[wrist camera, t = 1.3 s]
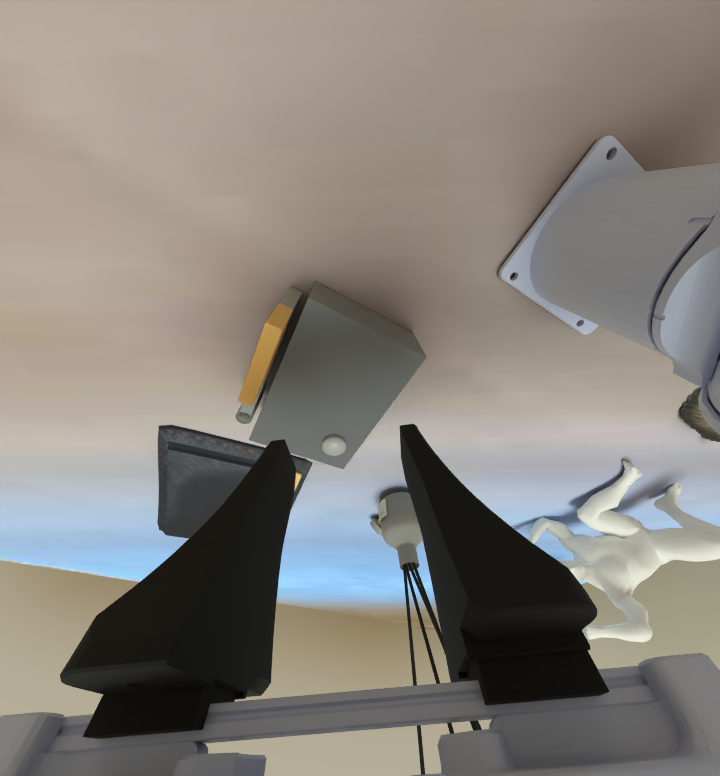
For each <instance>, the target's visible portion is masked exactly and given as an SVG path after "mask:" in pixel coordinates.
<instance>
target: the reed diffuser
mask: <svg viewBox="0 0 720 776" xmlns="http://www.w3.org/2000/svg"><path fill="white" fill-rule="evenodd" d="M378 510H379V519H377V518H374V519H373V520H372V521H371V522H370V524H371V526H372V528H373V529H374V530H375V531H376V532H377V533H378V534H379V535H381V536H383V538H384V540H385V542H386V543H387V544H388V545H390V546H392V547H393V548H395V549H397V551H398V556H399V562H400V568H401V569H402V570H403V572H404V583H405V595H406V606H407V617H408V629H409V640H410V651H411V663H412V674H413V686H417V682H416V672H415V661H414V650H413V640H412V629H411V618H410V607H409V596H408V586H407V577H408V581H409V584H410V588H411V592H412V595H413V599H414V603H415V607H416V610H417V614H418V618H419V621H420V625H421V629H422V632H423V636H424V639H425V643H426V647H427V651H428V654H429V658H430V662H431V665H432V669H433V673H434V676H435V680H436V684H440V682H439V678H438V674H437V670H436V667H435V664H434V660H433V656H432V653H431V649H430V645H429V642H428V638H427V635H426V631H425V627H424V624H423V620H422V617H421V613H420V610H419V606H418V603H417V599H416V595H415V592H414V588H413V585H412V581H411V578H410V574H409V571H411V573H412V575H413V578H414V580H415V583H416V585H417V587H418V590H419V592H420V594H421V597H422V599H423V601H424V604H425V606H426V608H427V611H428V613H429V616H430V618H431V620H432V623H433V625H434V627H435V630H436V632H437V634H438V637H439V639H440V642H441V644H442V647H443V649H444V652H445V648H444V643H443V638H442V634H441V631H440V629H439V626H438V623H437V621H436V618H435V615H434V613H433V610H432V607H431V605H430V602H429V599H428V597H427V594H426V591H425V589H424V586H423V584H422V581H421V578H420V576H419V573H418V570H417V568H418V567H419V562H418V557H417V552H416V547H417V545H418V544H419V543H420V542H421V541H422V540H423V538H422V534H421V530H420V526H419V523H418V520H417V516H416V513H415V510H414V506H413V503H412V500H411V496H410V493H406V492H396V493H392V494H389V495H387V496H385V497H384V498H383V499H382V500H381V502H380V503H379V506H378ZM413 570H415V573H416V576H417V578H418V580H417V578H416V576H415V573H414V571H413ZM406 573H407V575H406ZM418 581H419V582H418ZM419 584H420V585H419ZM445 655H446V654H445ZM470 723H471V725H472V728H473V731H476V730H482V729H481V727H480V724H479V722H478V720H475V721H470ZM447 724H448V728H449V731H450V734H454V731H453V727H452V724H451V723H447ZM417 731H418V743H419V753H420V766H421V775H425V768H424V758H423V747H422V736H421V725H417Z"/></svg>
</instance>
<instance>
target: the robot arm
mask: <svg viewBox="0 0 720 776" xmlns="http://www.w3.org/2000/svg"><path fill="white" fill-rule="evenodd" d="M609 150H611V155H610V157H609V158H608V159H607V158H606V156H607V153H608V151H609ZM512 273H515V276H514V277H513V278H512V279H510V276H511V274H512ZM498 275H499V278H500V279H501V280H503V281H504V282H506V283H507V284H509V285H510V286H512V287H513V288H515V289H516V290H518V291H519V292H521V293H522V294H523V295H525V296H526V297H528V298H529V299H531V300H532V301H534V302H535V303H537V304H538V305H540V306H541V307H542V308H544V309H545V310H547V311H548V312H550V313H551V314H553V315H554V316H556V317H557V318H559V319H560V320H561V321H563V322H564V323H566V324H567V325H569V326H570V327H572V328H573V329H575V330H576V331H578V332H579V333H581V334H583V335H588V334H590V333H591V332H593V331H594V330H595V329H596V328H597V327H598V326H599V325H600V326H602V327H604V328H606V329H608V330H610V331H613V332H615V333H617V334H619V335H621V336H624V337H626V338H628V339H630V340H632V341H634V342H637V343H639V344H641V345H643V346H645V347H648V348H650V349H652V350H654V351H656V352H658V353H661V354H663V355H665V356H667V357H669V358H670V359H671V360H672V361H673V364H674V369H673V373H674V374H676V375H678V376H680V377H682V378H684V379H686V380H688V381H690V382H692V383H694V384H696V385H698V386H700V387H702V389H701V391H700V395H699V398H698V402H699V409H700V411H701V414H702V416H703V418H704V419H705V420H706V422H707V423H708V424H709V425H710V427H711V428H713V429H714V430H715V431H716V432H717V433H718V434H719V435H720V162H718V163H710V164H702V165H694V166H686V167H678V168H671V169H663V170H655V171H647V172H646V171H645V170H644V169H643V168H642V167H641V166H640V165H639V164H638V162H637V161H636V160H635V159H634V158H633V157H632V156H631V155H630V154H629V153H628V151H627V150H626V149H625V148H624V147H623V146H622V145H621V144H620V143H619V142H618V140H617V139H616V138H615V137H614V136H612V135H609V136H605V137H602V138H600V139H599V140H598V141H597V142H596V143H595V144H594V145H593V147H592V148H591V149H590V151H589V152H588V153H587V155H586V156H585V157H584V159H583V160H582V161H581V162H580V164H579V165H578V166H577V168H576V169H575V170H574V172H573V173H572V174H571V176H570V177H569V178H568V180H567V181H566V182H565V184H564V185H563V186H562V188H561V189H560V190H559V191H558V193H557V194H556V195H555V197H554V198H553V199H552V201H551V202H550V203H549V205H548V206H547V207H546V209H545V210H544V211H543V213H542V214H541V215H540V217H539V218H538V219H537V221H536V222H535V223H534V224H533V226H532V227H531V228H530V230H529V231H528V232H527V234H526V235H525V236H524V238H523V239H522V240H521V242H520V243H519V244H518V246H517V247H516V248H515V250H514V251H513V252H512V253H511V255H510V256H509V257H508V259H507V260H506V261H505V263H504V264H503V265H502V267H501V268H500V270H499V273H498ZM578 321H580V322H579V323H578V324H577V322H578ZM400 442H401V459H402V464H403V469H404V475H405V479H406V483H407V486H408V490H409V493H410V496H411V500H412V503H413V506H414V510H415V513H416V516H417V520H418V523H419V526H420V530H421V534H422V538H423V542H424V547H425V552H426V556H427V561H428V566H429V571H430V576H431V581H432V586H433V591H434V596H435V601H436V606H437V611H438V616H439V622H440V627H441V632H442V638H443V643H444V648H445V654H446V659H447V665H448V670H449V675H450V679H451V683H440V684H429V685H418V686H406V687H395V688H384V689H373V690H362V691H350V692H340V693H328V694H317V695H305V696H294V697H282V698H271V699H260V700H249V701H239V702H234V700H235V699H245V698H246V697H250V696H261V695H262V694H263V693H264V691H265V690H266V689H267V688H268V686H269V684H270V683H271V666H272V650H273V634H274V622H275V609H276V599H277V589H278V579H279V571H280V562H281V554H282V548H283V543H284V538H285V533H286V529H287V524H288V519H289V515H290V510H291V505H292V501H293V496H294V490H295V480H296V467H295V464H294V462H293V459H292V457H291V454H290V452H289V449H288V447H287V444H286V441H285V439H283V440H274V441H271V442H270V443H269V444H268V446H267V447H266V449H265V450H264V451H263V453H262V454H261V455H260V457H259V458H258V460H257V461H256V462H255V464H254V465H253V466H252V468H251V469H250V470H249V472H248V473H247V474H246V476H245V477H244V478H243V480H242V481H241V482H240V484H239V485H238V486H237V487H236V489H235V490H234V491H233V492H232V493H231V495H230V496H229V497H228V498H227V499H226V501H225V502H224V503H223V504H222V505H221V506H220V508H219V509H218V510H217V511H216V512H215V513H214V514H213V515H212V516H211V517H210V518H209V520H208V521H207V522H206V523H205V524H204V525H203V526H202V527H201V528H200V529H199V530H198V531H197V532H196V533H195V534H194V535H193V536H192V537H190V538H189V539H188V540H187V541H186V542H185V543H184V544H183V545H182V546H181V547H180V548H179V549H178V550H177V551H176V552H175V553H173V554H172V555H171V556H170V557H169V558H168V559H167V560H166V561H164V562H163V563H162V564H161V565H160V566H159V567H157V568H156V569H155V570H154V571H153V572H152V573H150V574H149V575H148V576H147V577H146V578H144V579H143V580H142V581H141V582H139V583H138V584H137V585H136V586H135V587H133V588H132V589H131V590H129V591H128V592H127V593H125V594H124V595H123V596H122V597H121V598H119V599H118V600H116V601H115V602H114V603H113V604H111V605H110V606H109V607H107V608H106V609H105V610H104V611H102V612H101V613H99V614H98V615H97V616H96V617H95V619H94V621H93V622H92V624H91V625H90V627H89V629H88V630H87V632H86V633H85V635H84V637H83V638H82V640H81V642H80V643H79V645H78V646H77V648H76V650H75V651H74V653H73V655H72V656H71V658H70V660H69V661H68V663H67V664H66V666H65V668H64V669H63V671H62V673H61V674H60V678H61V682H63V683H64V684H66V685H69V686H72V687H76V688H80V689H84V690H88V691H92V692H96V693H100V694H103V697H102V698H101V700H100V702H99V704H98V707H97V709H96V710H95V712H94V714H91V715H80V716H70V717H64V715H62V714H57V713H44V712H41V713H25V714H14V715H3V716H0V776H264V772H265V765H266V758H265V756H264V755H247V754H240V753H217V754H208V748H207V746H206V744H203V743H214V742H226V741H238V740H250V739H262V738H273V737H285V736H297V735H309V734H321V733H333V732H345V731H356V730H368V729H380V728H392V727H404V726H415V725H428V724H439V723H452V722H463V721H475V720H487V719H493V720H492V721H491V723H490V725H489V729H487V730H476V731H468V732H461V733H454V734H447V735H441V737H440V739H439V742H438V750H439V755H440V761H441V771H442V773H440V774H426V775H413V776H720V670H719V669H718V668H717V667H716V665H715V664H714V663H713V662H712V660H711V659H710V658H709V657H708V656H707V655H705V654H703V653H695V654H683V655H672V656H662V657H655V658H651V659H647V660H644V661H642V662H641V663H639V665H638V666H633V667H632V666H631V667H620V668H609V669H597V667H596V665H595V664H594V662H593V660H592V658H591V656H590V655H589V653H588V651H587V650H590V645H589V643H588V641H587V639H586V638H585V636H584V634H583V632H582V630H583V629H584V628H585V627H586V626H587V625H588V624H590V623H591V622H592V621H593V620H594V619H595V618H596V616H597V608H596V607H595V605H594V603H593V602H592V600H591V599H590V597H589V595H588V594H587V592H586V591H585V590H584V588H583V587H582V585H581V584H580V583H579V581H578V580H577V579H576V577H575V576H574V575H573V574H572V572H571V571H570V570H569V568H568V567H566V566H565V565H563V564H562V563H560V562H559V561H557V560H556V559H554V558H553V557H551V556H550V555H549V554H547V553H546V552H544V551H543V550H541V549H540V548H539V547H537V546H536V545H534V544H533V543H532V542H530V541H529V540H528V539H526V538H525V537H524V536H522V535H521V534H520V533H518V532H517V531H516V530H514V529H513V528H512V527H511V526H509V525H508V524H507V523H506V522H505V521H503V520H502V519H501V518H500V517H498V516H497V515H496V514H495V513H493V512H492V511H491V510H490V509H489V508H488V507H486V506H485V505H484V504H483V503H482V502H481V501H480V500H479V499H478V498H476V497H475V496H474V495H473V494H472V493H471V492H470V491H469V490H468V489H467V488H466V487H465V486H464V485H463V484H462V483H461V482H460V481H459V480H458V479H457V478H456V477H455V476H454V474H453V473H452V472H451V471H450V470H449V469H448V468H447V467H446V466H445V464H444V463H443V462H442V461H441V460H440V458H439V457H438V456H437V455H436V454H435V452H434V451H433V450H432V448H431V447H430V446H429V444H428V443H427V442H426V440H425V439H424V437H423V436H422V434H421V433H420V431H419V430H418V428H417V426H416V425H414V424H409V425H401V426H400Z"/></svg>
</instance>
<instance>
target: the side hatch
mask: <svg viewBox="0 0 720 776" xmlns="http://www.w3.org/2000/svg"><path fill="white" fill-rule="evenodd" d="M301 294H302V292H301V291H299V290H297V289H295V288H293V287H290V289H289V290H288V291H287V293H286V294H285V296H284V297H283V298H282V300H281V301H280V303H279V304H278V305H277V307H276V308H275V310H274V311H273V312H272V314H271V315H270V317H269V318H268V319H267V321H266V322H265V325H264V328H263V331H262V333H261V336H260V339H259V342H258V345H257V348H256V351H255V353H254V356H253V359H252V362H251V365H250V368H249V371H248V373H247V376H246V379H245V382H244V385H243V388H242V391H241V393H240V396H239V399H238V401H239V402H242V405H241V407H240V409H239V410H238V412H237V414H236V419H237V421H239V422H240V423H243V424H247V423H250V422H251V420H252V418H253V416H254V414H255V411H256V409H257V407H258V405H259V403H260V400H261V398H262V396H263V394H264V391H265V388H264V386H265V384H266V381H267V379H268V376H269V374H270V371H271V369H272V366H273V364H274V361H275V359H276V356H277V354H278V351H279V349H280V347H281V344H282V342H283V339H284V337H285V334H286V332H287V329H288V327H289V324H290V322H291V319H292V317H293V314H294V312H295V309H296V307H297V304H298V302H299V299H300V297H301Z"/></svg>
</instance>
